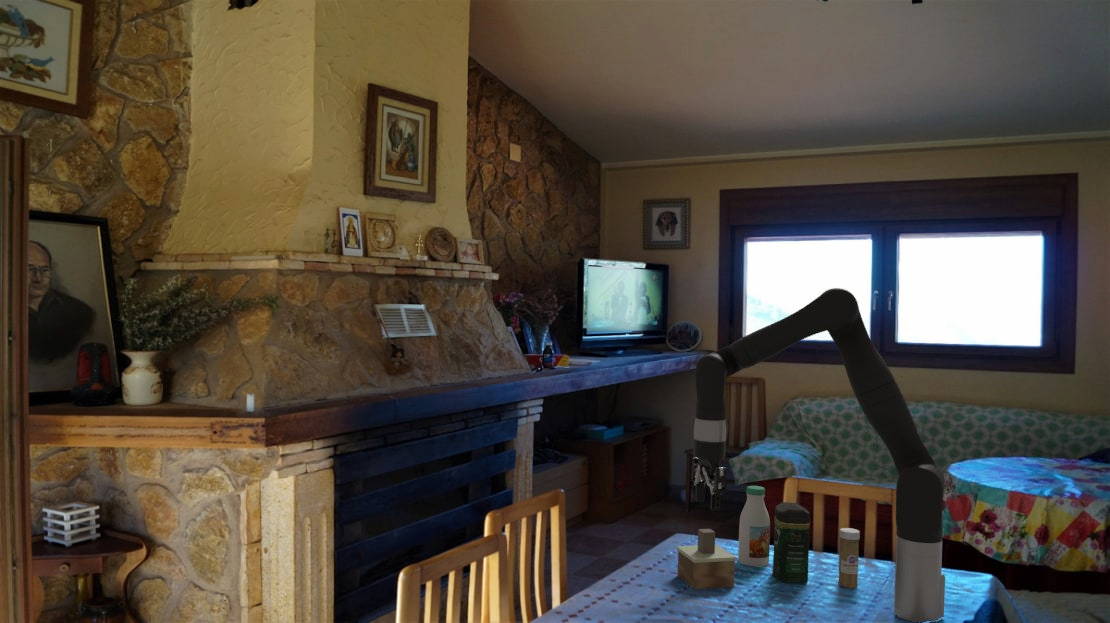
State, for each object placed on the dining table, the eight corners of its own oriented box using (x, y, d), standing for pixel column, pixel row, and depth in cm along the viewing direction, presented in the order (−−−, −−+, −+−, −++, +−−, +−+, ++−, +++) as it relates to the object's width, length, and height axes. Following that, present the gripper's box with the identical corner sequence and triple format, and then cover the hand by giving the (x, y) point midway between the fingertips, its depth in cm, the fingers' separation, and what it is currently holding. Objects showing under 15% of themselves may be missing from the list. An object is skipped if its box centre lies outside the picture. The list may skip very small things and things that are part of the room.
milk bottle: (736, 567, 219) (739, 488, 219) (739, 558, 226) (741, 482, 226) (768, 570, 217) (770, 491, 217) (769, 562, 224) (772, 485, 224)
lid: (716, 547, 212) (717, 524, 211) (736, 560, 201) (737, 535, 201) (676, 549, 209) (677, 525, 209) (694, 563, 199) (695, 537, 198)
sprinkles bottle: (845, 589, 204) (847, 532, 204) (834, 583, 209) (835, 527, 208) (862, 587, 206) (863, 531, 205) (850, 581, 210) (851, 526, 210)
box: (715, 576, 211) (716, 548, 211) (733, 590, 202) (734, 560, 202) (677, 578, 209) (678, 550, 209) (694, 592, 199) (695, 562, 199)
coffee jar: (811, 587, 205) (814, 509, 205) (777, 586, 205) (780, 508, 205) (801, 574, 214) (804, 500, 214) (769, 573, 215) (772, 499, 215)
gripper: (738, 442, 199) (735, 512, 199) (711, 432, 212) (709, 498, 213) (708, 443, 197) (705, 514, 197) (683, 433, 211) (680, 499, 211)
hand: (707, 505), depth 205 cm, fingers open, 8 cm apart
